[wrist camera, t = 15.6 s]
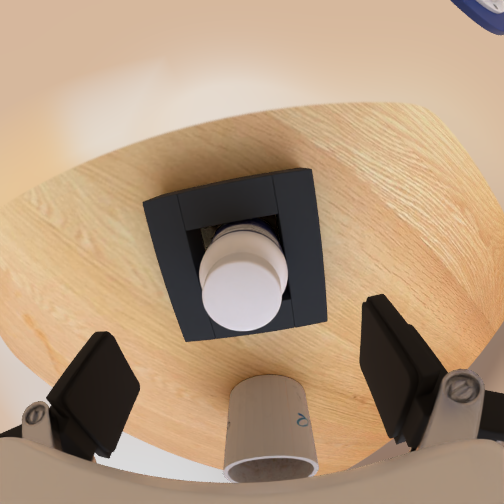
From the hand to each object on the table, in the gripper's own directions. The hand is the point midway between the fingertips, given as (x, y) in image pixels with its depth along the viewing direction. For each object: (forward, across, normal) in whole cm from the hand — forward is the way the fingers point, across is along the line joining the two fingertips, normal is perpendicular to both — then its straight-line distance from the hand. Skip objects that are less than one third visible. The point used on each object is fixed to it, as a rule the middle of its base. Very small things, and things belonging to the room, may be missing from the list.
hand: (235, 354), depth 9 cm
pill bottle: (+13, 0, 0) cm, 13 cm away
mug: (+13, +2, +20) cm, 24 cm away
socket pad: (+13, 0, 0) cm, 13 cm away
